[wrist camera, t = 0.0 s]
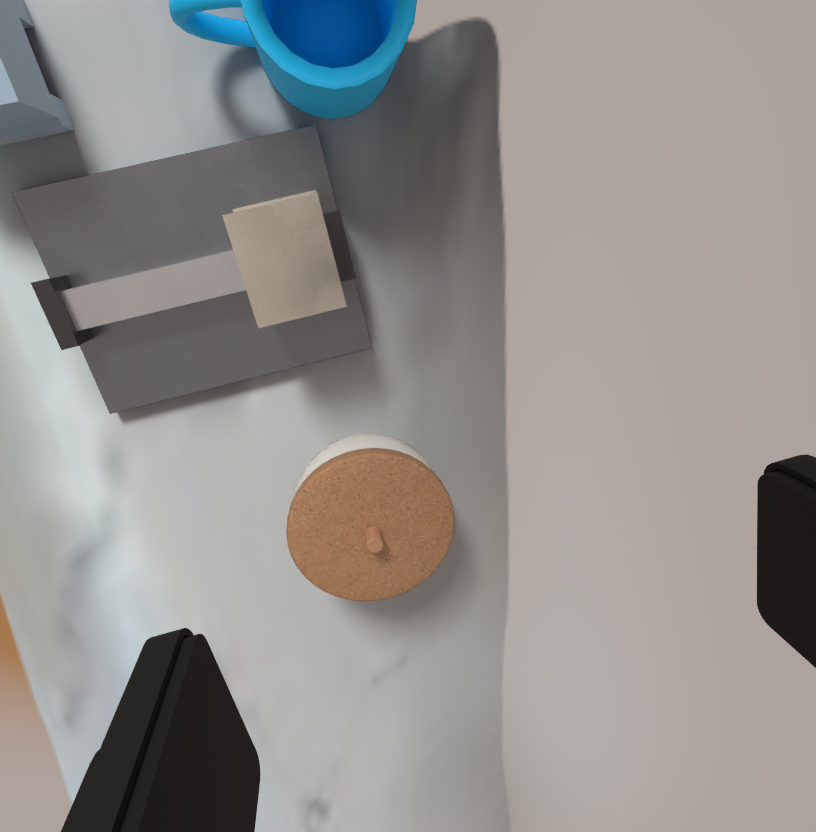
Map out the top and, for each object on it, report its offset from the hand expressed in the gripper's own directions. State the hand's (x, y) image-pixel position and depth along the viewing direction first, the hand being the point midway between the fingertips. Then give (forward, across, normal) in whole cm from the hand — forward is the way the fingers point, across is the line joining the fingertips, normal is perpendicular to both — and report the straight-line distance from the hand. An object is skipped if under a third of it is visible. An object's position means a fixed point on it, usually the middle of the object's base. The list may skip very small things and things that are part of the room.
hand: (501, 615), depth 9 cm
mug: (+32, 0, -17) cm, 36 cm away
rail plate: (+31, +9, -5) cm, 33 cm away
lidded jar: (+32, +3, +12) cm, 34 cm away
